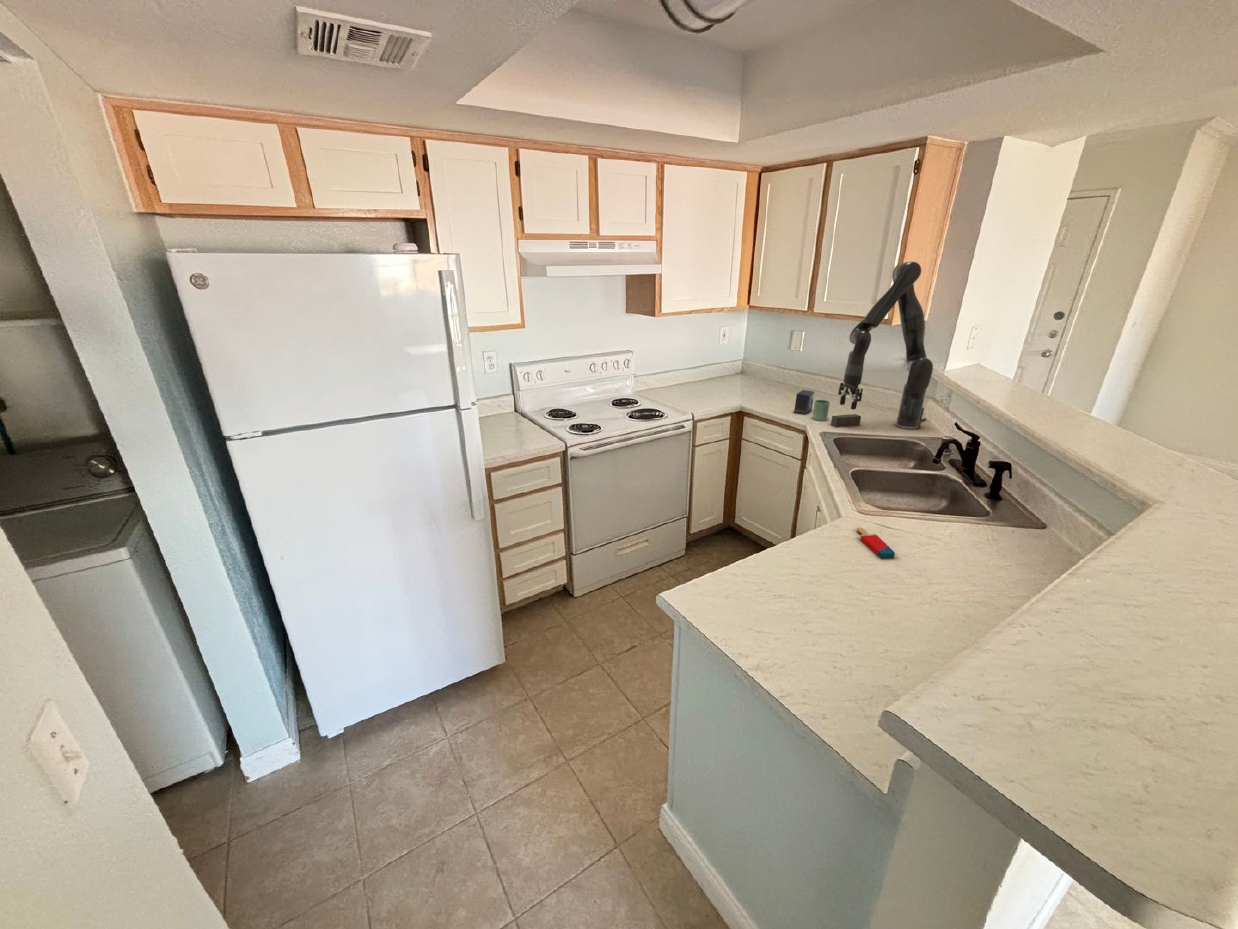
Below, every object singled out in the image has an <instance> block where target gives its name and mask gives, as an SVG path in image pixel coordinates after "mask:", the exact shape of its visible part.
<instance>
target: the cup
mask: <svg viewBox="0 0 1238 929" xmlns="http://www.w3.org/2000/svg"><path fill="white" fill-rule="evenodd" d="M830 404H831V402H830V400H827V399H815V400H814V405H813V412H812V419H813V420H815V421H819V422H822V421H823V422H824V421H828V418H829V410H830Z"/></svg>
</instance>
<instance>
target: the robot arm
mask: <svg viewBox="0 0 1238 929" xmlns="http://www.w3.org/2000/svg"><path fill="white" fill-rule="evenodd" d="M921 274H922V266H921V264H920V263H918V262H917V261H906V262H901V263H898V264H897V265H895V267H894V268H893V270H892V273H891V277H892V278H891V279H892V282H893V284H892V285H891V286H890V287H889V289H888V290H887V291H886V292H885V293H884V294H883V295H882V296H881V297H880V298H879V299H878V300H877V301H876V302H875V303H874V305H872V307H871V308H870V310H869V311H868V313H867V314H866V315H865V317H864V318H863V319H862V320H861V321H859V323H858V324H857V325H856V326H855V327H854V328H853V329H852V330H851V332H850V334H849V336H848V339H849V340H848V341H849V342H850V343H851V344H853V345H854V346H853V349H852V350H850V351H849V352H848V355H847V356H848V357H847V362H846V365H845V369H844V370H845V371H844V376H843V382H840V383H839V386H838V393H837V396H838V395H839V397H840V399H839V405H841V406H844V405H846V400H847V396H849V397H850V398H851V405H850V410H851V411H852V410H854V411H855V410H856V409H857V405H858V403H859V402H861V401H862V397H863V391H864V390H863V388H859V385H861V384H862V378H863V373H864V364H865V360H866V354H867V353H868V351H869V348H870V346H871V344H872V343H871V342H872V334H871V333H870V332H871V331H873V329H876V328H878V327H879V326H880V325H881V323H882V322H883V321H884V319H885V318H886V316H888V314H889V312H890V311H891V310H892V308H893V307H894V306H895V305H896V303H897V305H898V311H899V312H898V313H899V320H900V321H899V322H900V328H901V331H902V332H901V333H902V337H903V341H904V345H905V353H906V354H905V355H906V370H907V372H908V377H907V380H906V382H905V384H904V385H903V390H902V394H901V400H900V404H899V410H898V414H897V417H896V422H895V425H896V427H898V428H901V429H907V430H916V429H918V428H920V427H921V424H922V422H924V421H927V418H926V417H924V418H923V415H924V410H925V407H924V403H925V397H926V393H927V390H928V388H929V385H930V382H931V379H932V374H933V370H934V364H933V361H932V360H931V359H929V358H928V357H927V353H926V349H925V334H926V319H925V314H924V309H923V307H922V305H921V302H920V300H919V298H918V296H917V294H916V291H915V283H916V282H917V281H918V279H919V278H920V277H921Z"/></svg>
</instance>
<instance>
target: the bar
mask: <svg viewBox="0 0 1238 929" xmlns="http://www.w3.org/2000/svg"><path fill="white" fill-rule="evenodd" d="M861 420H862V416H861V415H859V414H856V413H849V414H839V415H832V416H831V420H830V425H831V426H833V427H835V428H840V427H841V428H842V427H853V426H860V425H861Z"/></svg>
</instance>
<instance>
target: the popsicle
mask: <svg viewBox="0 0 1238 929" xmlns="http://www.w3.org/2000/svg"><path fill="white" fill-rule="evenodd" d="M856 531H857V532H858V533H859V534H860V536H859V540H860V541H861V542H862V543H864V544H865V545H866V546H867V547H868V548H869V549H870V550H871V551H872V552H873V553H874V554H876V556H878V557H879V558H880V559H888V558H891V559H892V558H895V554H896V552H895V551H894V550H893V549H892V547H890V546H889V545H888V544H887V543H886V542H885V541H884V540H883V539H882V538H881V537H880V536H879V535H878V534H876V533H868V532H867V530H866V529H864V528H863V527H856Z"/></svg>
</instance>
